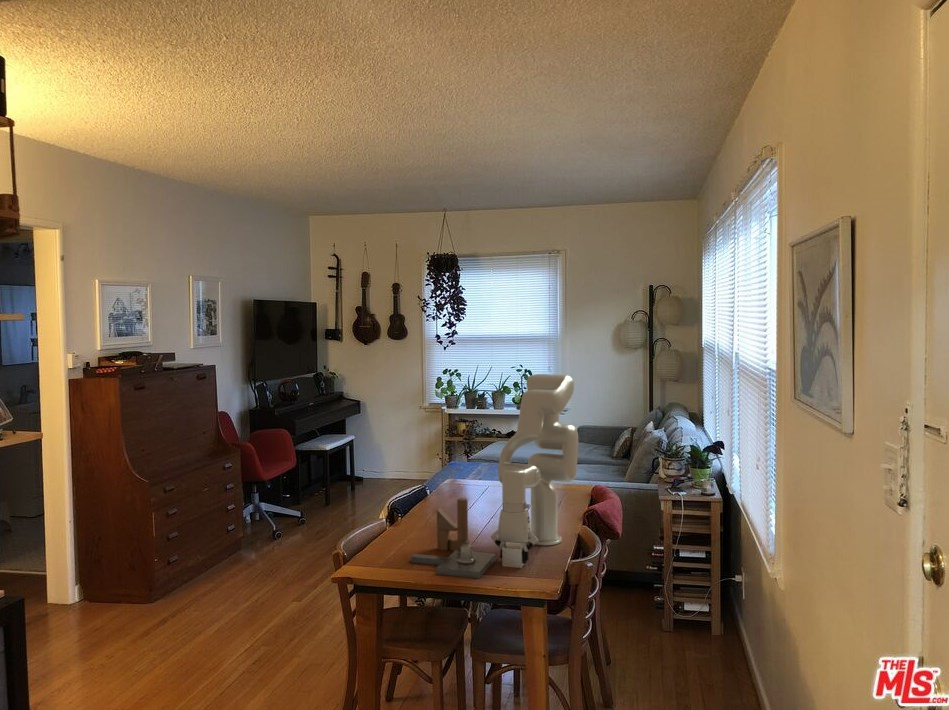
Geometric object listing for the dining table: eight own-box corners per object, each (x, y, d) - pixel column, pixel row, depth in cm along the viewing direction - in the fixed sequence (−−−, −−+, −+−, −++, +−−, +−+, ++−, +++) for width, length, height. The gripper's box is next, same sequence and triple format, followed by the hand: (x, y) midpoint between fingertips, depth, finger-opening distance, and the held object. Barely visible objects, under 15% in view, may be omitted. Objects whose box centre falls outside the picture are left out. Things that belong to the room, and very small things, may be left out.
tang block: (422, 552, 235) (422, 533, 235) (495, 559, 227) (495, 539, 227) (401, 570, 218) (401, 549, 218) (479, 578, 210) (478, 556, 210)
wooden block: (440, 547, 241) (439, 496, 241) (469, 549, 239) (469, 497, 238) (437, 550, 238) (436, 498, 237) (467, 552, 235) (466, 500, 235)
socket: (507, 559, 227) (507, 541, 227) (526, 561, 225) (526, 543, 225) (502, 566, 221) (502, 547, 221) (521, 568, 219) (521, 549, 219)
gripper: (542, 505, 224) (543, 560, 224) (491, 502, 229) (492, 555, 230) (537, 511, 216) (537, 567, 217) (485, 507, 222) (485, 562, 222)
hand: (514, 560), depth 223 cm, fingers closed on socket, 6 cm apart
